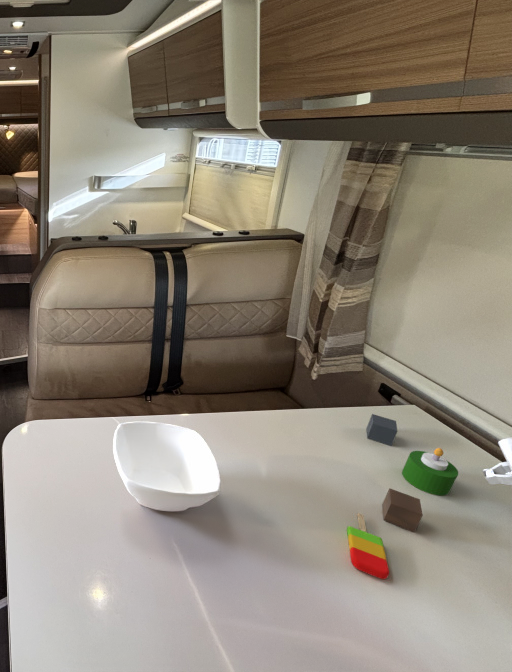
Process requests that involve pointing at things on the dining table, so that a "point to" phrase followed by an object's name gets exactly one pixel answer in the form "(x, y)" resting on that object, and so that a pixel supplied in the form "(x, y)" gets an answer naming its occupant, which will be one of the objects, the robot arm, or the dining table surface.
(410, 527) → the walnut block
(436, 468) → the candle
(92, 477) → the dining table surface
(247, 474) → the dining table surface
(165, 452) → the bowl
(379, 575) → the popsicle
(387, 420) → the slate block
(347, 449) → the dining table surface
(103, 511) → the dining table surface
